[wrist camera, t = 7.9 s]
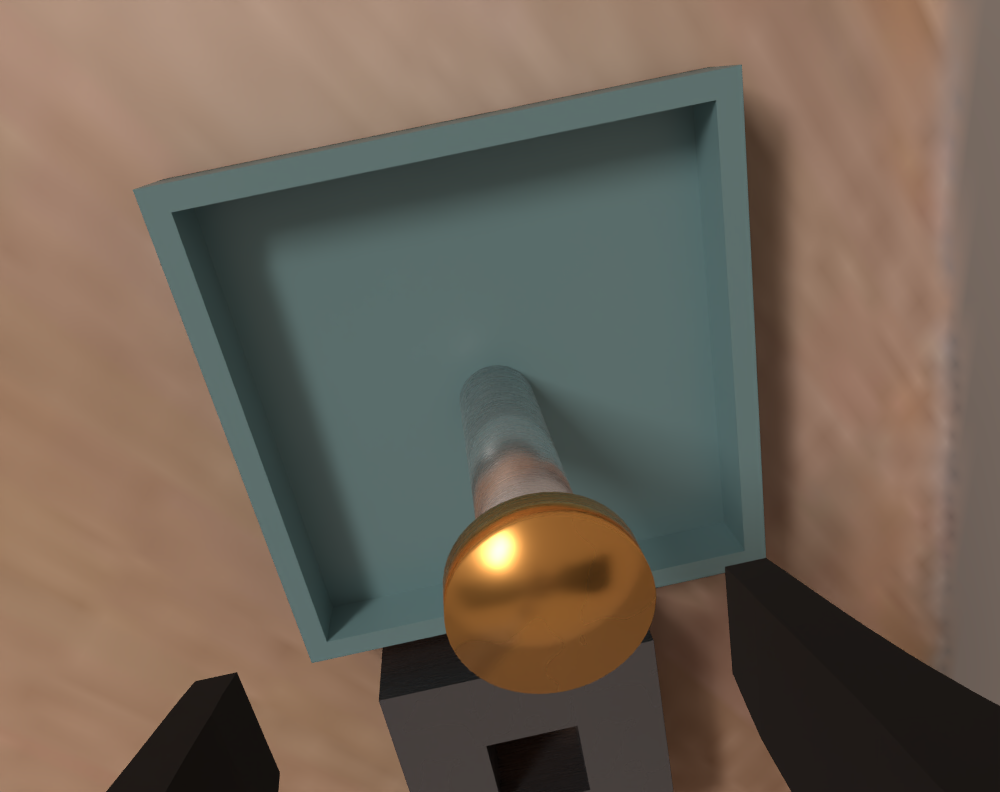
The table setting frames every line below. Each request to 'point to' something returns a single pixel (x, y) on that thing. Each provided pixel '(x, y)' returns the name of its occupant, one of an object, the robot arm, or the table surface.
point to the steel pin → (537, 556)
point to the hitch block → (522, 727)
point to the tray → (478, 335)
